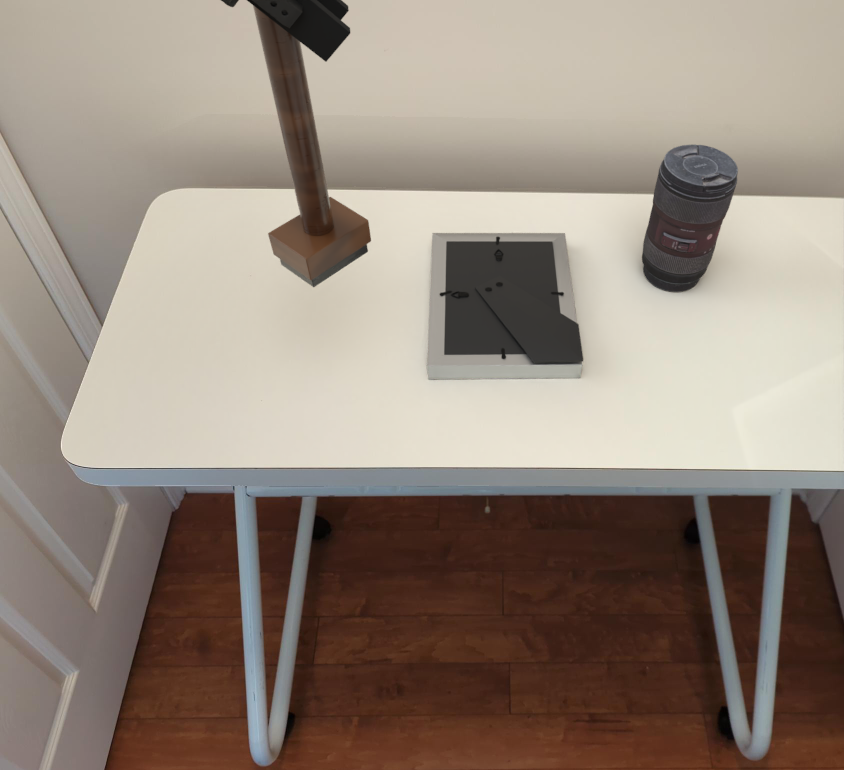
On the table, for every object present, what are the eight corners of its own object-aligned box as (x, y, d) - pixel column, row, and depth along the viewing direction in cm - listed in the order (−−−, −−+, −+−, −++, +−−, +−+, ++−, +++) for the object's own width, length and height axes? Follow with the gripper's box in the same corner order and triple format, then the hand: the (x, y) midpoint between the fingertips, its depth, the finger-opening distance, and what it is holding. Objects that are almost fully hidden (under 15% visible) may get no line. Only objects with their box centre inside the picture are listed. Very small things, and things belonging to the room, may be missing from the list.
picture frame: (580, 378, 78) (563, 246, 91) (583, 360, 76) (565, 227, 89) (428, 379, 77) (433, 246, 90) (426, 361, 75) (432, 227, 88)
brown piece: (313, 291, 65) (163, -357, 34) (276, 265, 67) (102, -371, 36) (373, 251, 68) (286, -368, 37) (336, 227, 70) (224, -380, 39)
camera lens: (720, 282, 88) (757, 173, 76) (665, 305, 85) (694, 196, 74) (677, 242, 92) (706, 133, 81) (624, 263, 89) (645, 153, 78)
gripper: (-36, -252, 44) (305, 21, 59) (-132, -170, 34) (305, 132, 49) (19, -378, 41) (365, -54, 56) (-71, -327, 31) (378, 49, 46)
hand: (336, 33), depth 53 cm, fingers closed on brown piece, 3 cm apart
